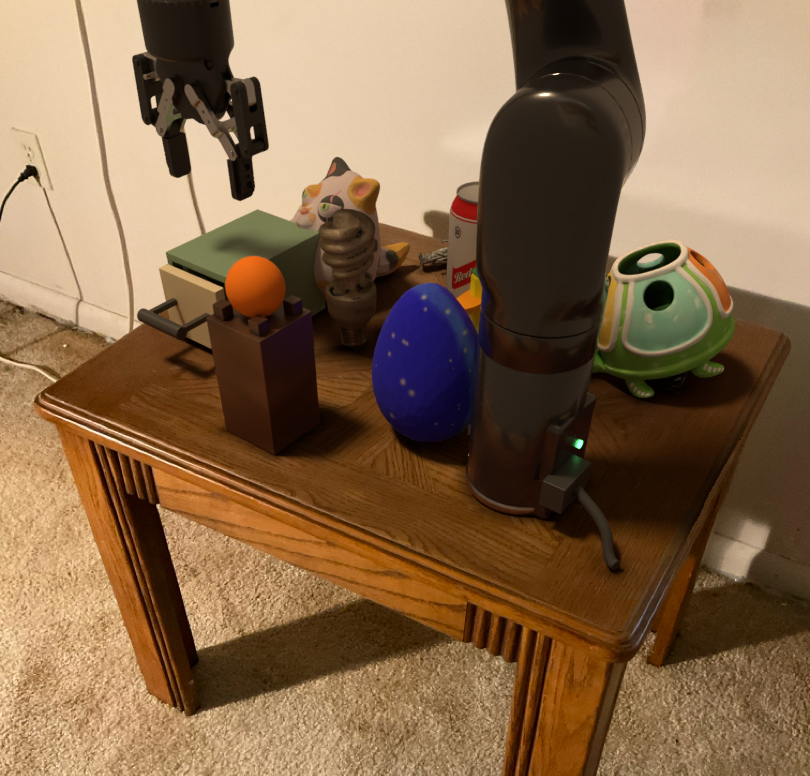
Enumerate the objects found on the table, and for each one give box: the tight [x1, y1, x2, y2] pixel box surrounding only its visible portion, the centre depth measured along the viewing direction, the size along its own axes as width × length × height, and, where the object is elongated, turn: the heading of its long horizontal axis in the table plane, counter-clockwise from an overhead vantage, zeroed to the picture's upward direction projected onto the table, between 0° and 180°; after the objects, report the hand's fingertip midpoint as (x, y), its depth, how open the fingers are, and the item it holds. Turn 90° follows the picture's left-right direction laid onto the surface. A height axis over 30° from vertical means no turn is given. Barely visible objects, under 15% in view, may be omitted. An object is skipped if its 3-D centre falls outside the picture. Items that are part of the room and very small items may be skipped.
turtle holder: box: [592, 238, 736, 399], centre depth 82 cm, size 12×18×12 cm
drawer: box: [136, 263, 229, 350], centre depth 88 cm, size 17×8×7 cm, turn 143°
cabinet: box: [165, 208, 327, 317], centre depth 90 cm, size 14×10×9 cm
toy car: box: [650, 370, 690, 391], centre depth 86 cm, size 8×3×2 cm, turn 151°
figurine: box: [289, 156, 411, 302], centre depth 95 cm, size 12×17×15 cm
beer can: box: [445, 180, 479, 319], centre depth 86 cm, size 6×6×16 cm
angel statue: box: [418, 239, 448, 268], centre depth 103 cm, size 4×8×4 cm
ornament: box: [371, 282, 478, 443], centre depth 74 cm, size 11×9×15 cm
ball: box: [225, 256, 285, 318], centre depth 69 cm, size 5×5×5 cm
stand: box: [206, 295, 321, 456], centre depth 74 cm, size 6×6×13 cm
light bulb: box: [318, 209, 377, 351], centre depth 84 cm, size 6×6×15 cm
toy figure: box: [456, 268, 482, 333], centre depth 82 cm, size 7×4×12 cm, turn 137°
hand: (211, 186), depth 79 cm, fingers open, 8 cm apart
